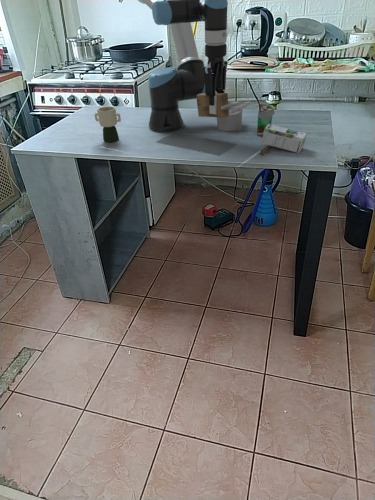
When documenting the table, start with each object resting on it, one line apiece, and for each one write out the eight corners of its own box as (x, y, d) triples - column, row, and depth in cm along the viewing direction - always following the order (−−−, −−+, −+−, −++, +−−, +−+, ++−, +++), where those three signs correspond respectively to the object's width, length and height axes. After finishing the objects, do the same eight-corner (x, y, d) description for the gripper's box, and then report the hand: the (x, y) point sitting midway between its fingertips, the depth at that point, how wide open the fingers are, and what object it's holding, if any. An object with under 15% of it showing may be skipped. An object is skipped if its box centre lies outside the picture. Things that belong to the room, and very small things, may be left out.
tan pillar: (195, 118, 149) (192, 96, 144) (206, 112, 154) (203, 91, 150) (240, 120, 138) (239, 96, 134) (251, 113, 143) (250, 91, 139)
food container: (272, 138, 150) (274, 112, 145) (256, 138, 152) (258, 112, 146) (273, 128, 160) (275, 103, 154) (258, 128, 161) (259, 103, 156)
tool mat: (155, 143, 152) (155, 142, 152) (174, 133, 161) (174, 132, 161) (219, 156, 138) (219, 155, 137) (237, 145, 146) (237, 144, 146)
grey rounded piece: (242, 122, 168) (243, 102, 163) (240, 132, 158) (241, 111, 153) (219, 122, 170) (219, 102, 165) (215, 132, 160) (215, 111, 155)
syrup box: (268, 123, 141) (307, 132, 137) (265, 138, 145) (303, 147, 141) (263, 128, 137) (304, 138, 133) (260, 144, 141) (299, 153, 137)
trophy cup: (127, 138, 159) (122, 106, 151) (120, 144, 153) (115, 111, 146) (102, 137, 161) (97, 105, 154) (95, 143, 156) (89, 110, 148)
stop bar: (260, 154, 137) (260, 150, 136) (274, 144, 145) (274, 140, 144) (263, 155, 137) (263, 151, 136) (277, 144, 144) (277, 140, 144)
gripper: (212, 48, 126) (213, 119, 140) (236, 40, 136) (234, 107, 150) (193, 46, 129) (195, 116, 143) (218, 39, 140) (217, 105, 154)
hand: (215, 112), depth 147 cm, fingers closed on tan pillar, 3 cm apart
